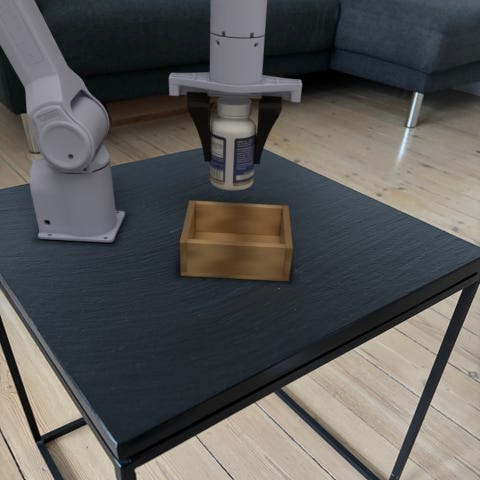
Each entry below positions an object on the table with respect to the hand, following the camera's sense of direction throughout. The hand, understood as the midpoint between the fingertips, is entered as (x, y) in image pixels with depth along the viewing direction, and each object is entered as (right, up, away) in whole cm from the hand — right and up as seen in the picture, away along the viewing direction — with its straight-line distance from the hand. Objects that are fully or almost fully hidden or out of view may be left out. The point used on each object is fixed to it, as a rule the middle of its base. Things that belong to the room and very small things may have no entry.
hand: (232, 160), depth 62 cm
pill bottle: (0, -2, +2) cm, 3 cm away
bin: (0, -11, +2) cm, 11 cm away
